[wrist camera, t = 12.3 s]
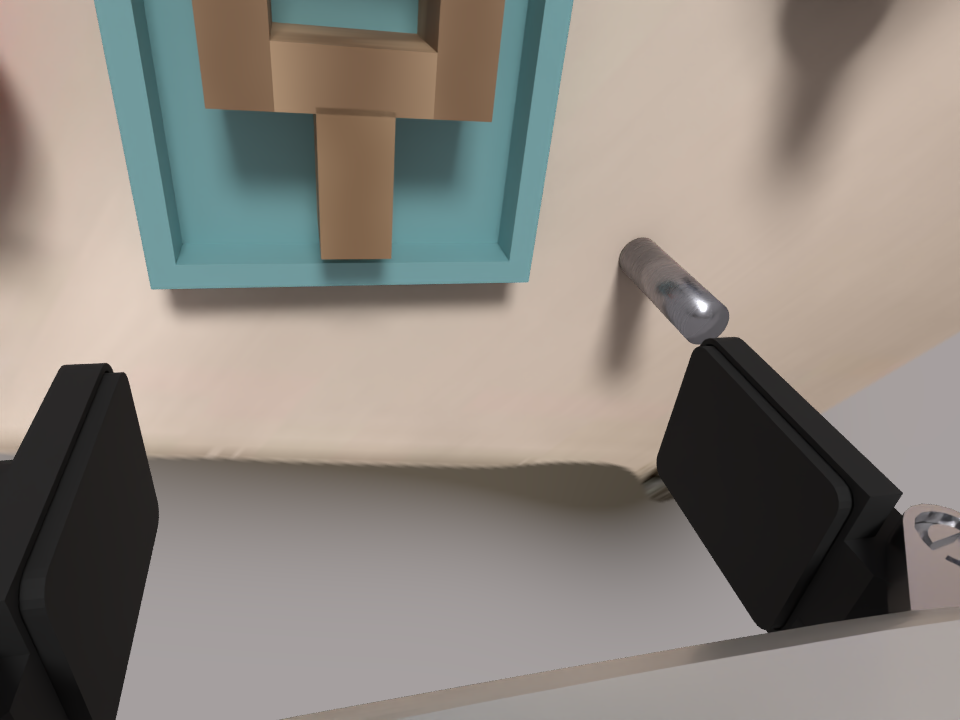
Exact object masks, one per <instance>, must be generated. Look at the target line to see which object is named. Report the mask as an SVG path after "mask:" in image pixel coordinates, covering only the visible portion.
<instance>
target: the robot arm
mask: <svg viewBox="0 0 960 720" xmlns="http://www.w3.org/2000/svg"><path fill="white" fill-rule="evenodd" d="M657 470H658V473H659V475H660V477H661V479H662V480H663V482H664V484H665V485H666V487H667V488H668V490H669V491H670V493H671V494H672V496H673V497H674V499H675V501H676V502H677V504H678V505H679V507H680V508H681V510H682V511H683V513H684V514H685V516H686V517H687V519H688V520H689V522H690V524H691V525H692V527H693V528H694V530H695V531H696V533H697V534H698V536H699V538H700V539H701V541H702V542H703V544H704V545H705V547H706V548H707V549H708V551H709V553H710V554H711V556H712V558H713V559H714V561H715V562H716V564H717V565H718V567H719V568H720V570H721V571H722V573H723V574H724V576H725V578H726V579H727V580H728V582H729V583H730V585H731V587H732V588H733V590H734V591H735V593H736V595H737V596H738V598H739V599H740V600H741V602H742V604H743V605H744V607H745V608H746V610H747V611H748V613H749V614H750V616H751V618H752V619H753V620H754V622H755V623H756V624H757V626H759V627H760V628H761V629H764V630H766V631H767V632H768V633H766V634H759V635H754V636H748V637H742V638H736V639H731V640H724V641H718V642H712V643H707V644H700V645H695V646H689V647H683V648H677V649H672V650H666V651H660V652H654V653H648V654H643V655H637V656H632V657H625V658H620V659H614V660H608V661H603V662H597V663H591V664H585V665H580V666H574V667H568V668H563V669H557V670H551V671H546V672H540V673H535V674H529V675H523V676H518V677H512V678H506V679H500V680H495V681H489V682H484V683H479V684H472V685H467V686H461V687H456V688H450V689H445V690H439V691H434V692H428V693H423V694H417V695H412V696H406V697H401V698H395V699H390V700H384V701H378V702H373V703H367V704H362V705H356V706H351V707H345V708H340V709H334V710H329V711H323V712H318V713H312V714H307V715H302V716H296V717H291V718H286V719H281V720H960V513H959V512H957V511H955V510H952V509H949V508H946V507H942V506H938V505H932V504H931V505H930V504H919V505H914V506H911V507H910V508H908V509H907V510H906V511H905V512H904V514H903V515H901V514H900V513H899V512H898V511H897V510H896V509H895V508H894V506H895V505H896V503H897V502H898V500H899V499H900V497H901V495H902V494H903V493H902V492H901V491H900V490H899V489H898V488H897V487H896V486H895V485H894V484H893V483H892V482H891V481H890V480H889V479H888V478H886V477H885V475H884V474H882V473H881V472H880V471H879V470H878V469H877V468H876V467H875V466H874V465H873V464H872V463H871V462H870V461H869V460H868V459H867V458H866V457H865V456H864V455H862V454H861V453H860V452H859V451H858V450H857V449H856V448H855V447H854V446H853V445H852V444H851V443H850V442H849V441H848V440H847V439H846V438H845V437H844V436H843V435H842V434H841V433H839V432H838V431H837V430H836V429H835V428H834V427H833V426H832V425H831V424H830V423H829V422H828V421H827V420H826V419H825V418H824V417H823V416H822V415H821V414H820V413H819V412H818V411H816V410H815V409H814V408H813V407H812V406H811V405H810V404H809V403H808V402H807V401H806V400H805V399H804V398H803V397H802V396H801V395H800V394H799V393H798V392H797V391H795V390H794V389H793V388H792V387H791V386H790V385H789V384H788V383H787V382H786V381H785V380H784V379H783V378H782V377H781V376H780V375H779V374H778V373H777V372H776V371H775V370H773V369H772V368H771V367H770V366H769V365H768V364H767V363H766V362H765V361H764V360H763V359H762V358H761V357H760V356H759V355H758V354H757V353H756V352H755V351H754V350H753V349H751V348H750V347H749V346H748V345H747V344H746V343H745V342H744V341H743V340H742V339H740V338H737V337H724V338H708V339H705V340H704V341H703V342H702V343H701V345H700V346H699V347H696V348H695V349H694V350H693V353H692V355H691V358H690V361H689V364H688V367H687V370H686V372H685V375H684V378H683V381H682V384H681V387H680V390H679V393H678V396H677V399H676V402H675V405H674V408H673V411H672V414H671V417H670V420H669V423H668V426H667V429H666V432H665V435H664V438H663V441H662V444H661V447H660V449H659V452H658V455H657ZM158 520H159V509H158V501H157V497H156V493H155V489H154V485H153V481H152V476H151V472H150V468H149V464H148V460H147V456H146V451H145V447H144V443H143V439H142V435H141V431H140V426H139V422H138V418H137V414H136V410H135V406H134V402H133V397H132V393H131V389H130V385H129V381H128V378H127V376H126V374H125V373H124V372H120V373H113V370H112V368H111V366H110V365H109V364H107V363H98V364H74V365H63V366H61V368H60V369H59V371H58V373H57V375H56V377H55V378H54V380H53V382H52V384H51V386H50V388H49V390H48V392H47V394H46V396H45V398H44V400H43V402H42V404H41V406H40V408H39V410H38V412H37V414H36V416H35V418H34V420H33V422H32V424H31V426H30V428H29V430H28V432H27V433H26V435H25V437H24V439H23V441H22V443H21V445H20V447H19V449H18V451H17V453H16V455H15V457H14V459H13V460H5V461H0V720H116V715H117V711H118V706H119V702H120V697H121V692H122V688H123V683H124V679H125V674H126V670H127V665H128V660H129V655H130V651H131V647H132V642H133V637H134V633H135V629H136V624H137V619H138V615H139V610H140V606H141V601H142V597H143V592H144V587H145V583H146V578H147V574H148V569H149V564H150V560H151V555H152V550H153V546H154V542H155V537H156V533H157V528H158Z"/></svg>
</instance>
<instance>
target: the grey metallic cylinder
mask: <svg viewBox="0 0 960 720" xmlns="http://www.w3.org/2000/svg"><path fill="white" fill-rule="evenodd" d="M619 264H620V267H621V269H622V270H623V271H624V272H625V274H626V275H627V276H628V277H629V278H630V279H631V280H632V281H633V282H634V283H635V284H636V285H637V286H638V287H639V289H640V290H641V291H642V292H643V293H644V294H645V295H646V296H647V297H648V298H649V299H650V300H651V301H652V303H653V304H654V305H655V306H656V307H657V308H658V309H659V310H660V311H661V312H662V313H663V314H664V315H665V317H666V318H667V319H668V320H669V321H670V322H671V323H672V324H673V325H674V326H675V327H676V328H677V329H678V330H679V332H680V333H681V334H682V335H683V336H684V337H685V338H686V339H687V340H688V341H689V342H690V343H693V344H701V343H702V342H703V341H704V340H705V339H708V338H717V337H718V336H719V335H720V334H721V333H722V332H723V331H724V329H725V328H726V326H727V324H728V321H729V312H728V310H727V308H726V307H725V306H724V305H723V304H722V303H721V302H720V301H719V300H717V299H716V298H715V297H714V296H713V295H712V294H711V293H710V292H709V291H708V290H706V289H705V288H704V287H703V286H702V285H701V284H700V283H699V282H698V281H697V280H695V279H694V278H693V277H692V276H691V275H690V274H689V273H688V272H687V271H685V270H684V269H683V268H682V267H681V266H680V265H679V264H678V263H677V262H676V261H674V260H673V259H672V258H671V257H670V256H669V255H668V254H667V253H666V252H664V251H663V250H662V249H661V248H660V247H659V246H658V245H657V244H656V243H655V242H653V241H652V240H651V239H649V238H637V239H635V240H633V241H631V242H630V243H628V244H627V245H626V246H625V247H624V249H623V250H622V252H621V254H620V258H619Z"/></svg>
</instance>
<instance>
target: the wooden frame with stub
mask: <svg viewBox="0 0 960 720" xmlns="http://www.w3.org/2000/svg"><path fill="white" fill-rule="evenodd" d="M192 7H193V15H194V23H195V31H196V39H197V47H198V55H199V63H200V71H201V79H202V87H203V95H204V103H205V109H223V110H244V111H265V112H286V113H308V114H313V120H314V147H315V174H316V201H317V221H318V231H319V242H320V252H321V259H391V253H392V220H393V186H394V153H395V120H396V118H413V119H434V120H455V121H476V122H492V117H493V107H494V98H495V89H496V80H497V71H498V62H499V53H500V43H501V34H502V25H503V16H504V7H505V0H419V2H418V24H417V34H414V33H402V32H390V31H377V30H365V29H353V28H340V27H328V26H316V25H303V24H291V23H279V22H272V11H271V0H192Z"/></svg>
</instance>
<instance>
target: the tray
mask: <svg viewBox="0 0 960 720" xmlns="http://www.w3.org/2000/svg"><path fill="white" fill-rule="evenodd" d="M418 2H419V0H271V11H272V22H279V23H291V24H303V25H316V26H328V27H340V28H353V29H365V30H377V31H390V32H402V33H414V34H417V24H418ZM94 3H95V8H96V13H97V18H98V23H99V28H100V33H101V38H102V43H103V48H104V53H105V58H106V64H107V69H108V74H109V79H110V84H111V89H112V94H113V99H114V104H115V109H116V114H117V119H118V124H119V129H120V134H121V139H122V144H123V149H124V154H125V159H126V165H127V170H128V175H129V180H130V185H131V190H132V195H133V200H134V205H135V210H136V215H137V220H138V225H139V230H140V235H141V240H142V245H143V250H144V255H145V260H146V266H147V271H148V276H149V281H150V286H151V289H196V288H249V287H302V286H355V285H408V284H462V283H515V282H528V281H529V275H530V269H531V262H532V256H533V250H534V244H535V237H536V231H537V225H538V219H539V212H540V206H541V200H542V194H543V187H544V181H545V175H546V169H547V162H548V156H549V150H550V144H551V137H552V131H553V125H554V119H555V112H556V106H557V100H558V94H559V87H560V81H561V75H562V69H563V62H564V56H565V50H566V44H567V37H568V31H569V25H570V19H571V12H572V6H573V0H505V7H504V16H503V25H502V34H501V43H500V53H499V62H498V71H497V80H496V89H495V98H494V107H493V117H492V122H476V121H455V120H434V119H413V118H396V120H395V153H394V186H393V220H392V253H391V259H321V252H320V242H319V231H318V221H317V201H316V174H315V147H314V120H313V114H308V113H286V112H265V111H244V110H223V109H205V103H204V95H203V87H202V79H201V71H200V63H199V55H198V47H197V39H196V31H195V23H194V15H193V7H192V0H94Z"/></svg>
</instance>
